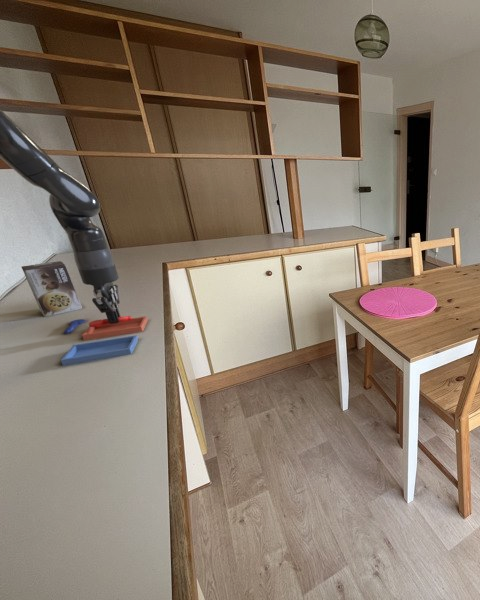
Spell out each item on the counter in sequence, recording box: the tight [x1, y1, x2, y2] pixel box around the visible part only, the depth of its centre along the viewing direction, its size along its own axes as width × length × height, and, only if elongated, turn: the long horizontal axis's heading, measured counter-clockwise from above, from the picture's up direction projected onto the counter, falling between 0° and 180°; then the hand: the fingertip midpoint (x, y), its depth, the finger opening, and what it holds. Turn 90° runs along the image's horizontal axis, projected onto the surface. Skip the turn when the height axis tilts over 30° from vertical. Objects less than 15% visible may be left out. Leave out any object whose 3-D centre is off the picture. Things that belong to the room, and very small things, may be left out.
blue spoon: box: [63, 318, 86, 335], centre depth 94 cm, size 10×3×1 cm, turn 28°
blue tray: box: [60, 334, 139, 367], centre depth 82 cm, size 13×8×2 cm, turn 118°
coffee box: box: [21, 260, 83, 317], centre depth 102 cm, size 9×6×16 cm
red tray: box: [81, 316, 149, 341], centre depth 93 cm, size 13×8×2 cm, turn 118°
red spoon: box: [88, 315, 133, 327], centre depth 92 cm, size 10×3×1 cm, turn 118°
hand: (115, 321), depth 92 cm, fingers closed on red spoon, 1 cm apart
